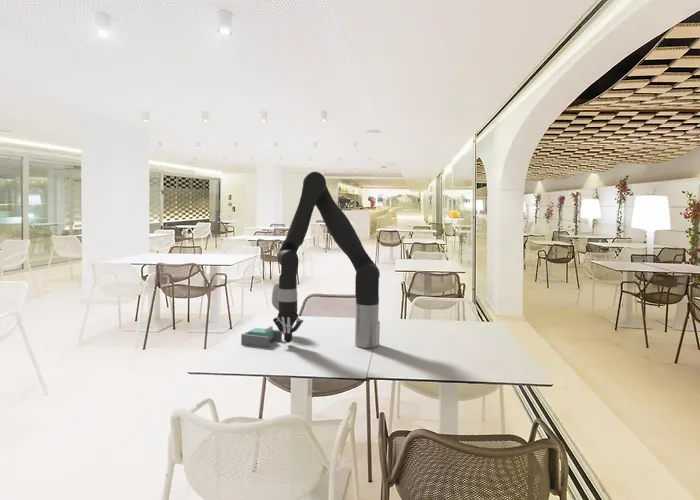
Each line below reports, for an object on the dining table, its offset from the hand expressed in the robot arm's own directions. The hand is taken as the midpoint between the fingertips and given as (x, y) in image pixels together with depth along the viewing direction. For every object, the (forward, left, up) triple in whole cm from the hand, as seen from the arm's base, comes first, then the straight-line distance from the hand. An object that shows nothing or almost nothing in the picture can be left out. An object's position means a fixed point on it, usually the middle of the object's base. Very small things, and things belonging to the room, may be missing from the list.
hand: (288, 341), depth 195 cm
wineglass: (+13, -18, -2) cm, 22 cm away
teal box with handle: (+12, 0, -1) cm, 12 cm away
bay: (+11, 0, -1) cm, 11 cm away
